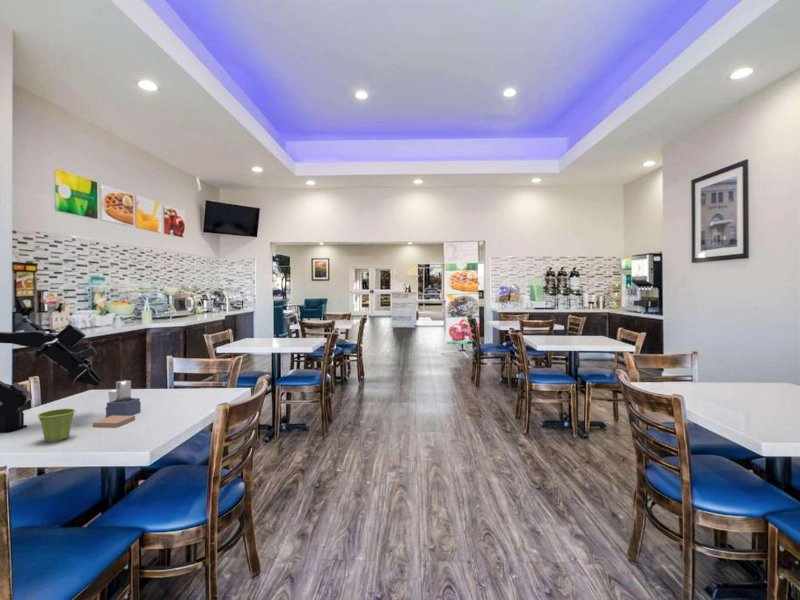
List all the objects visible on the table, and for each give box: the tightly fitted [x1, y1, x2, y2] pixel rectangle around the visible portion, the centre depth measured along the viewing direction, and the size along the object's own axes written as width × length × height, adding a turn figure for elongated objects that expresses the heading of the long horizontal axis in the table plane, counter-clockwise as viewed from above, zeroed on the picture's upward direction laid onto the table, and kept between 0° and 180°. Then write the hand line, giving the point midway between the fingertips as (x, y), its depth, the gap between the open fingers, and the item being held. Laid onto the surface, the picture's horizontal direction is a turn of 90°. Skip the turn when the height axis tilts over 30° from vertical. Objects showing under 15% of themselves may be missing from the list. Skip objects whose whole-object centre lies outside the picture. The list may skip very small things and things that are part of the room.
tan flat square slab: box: [92, 415, 136, 428], centre depth 149 cm, size 9×9×2 cm
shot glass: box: [107, 388, 116, 402], centre depth 172 cm, size 7×7×7 cm
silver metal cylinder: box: [115, 379, 132, 403], centre depth 160 cm, size 5×5×9 cm
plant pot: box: [37, 408, 76, 443], centre depth 132 cm, size 9×9×9 cm
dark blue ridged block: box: [105, 397, 142, 418], centre depth 160 cm, size 8×8×6 cm
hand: (99, 382), depth 156 cm, fingers open, 9 cm apart
